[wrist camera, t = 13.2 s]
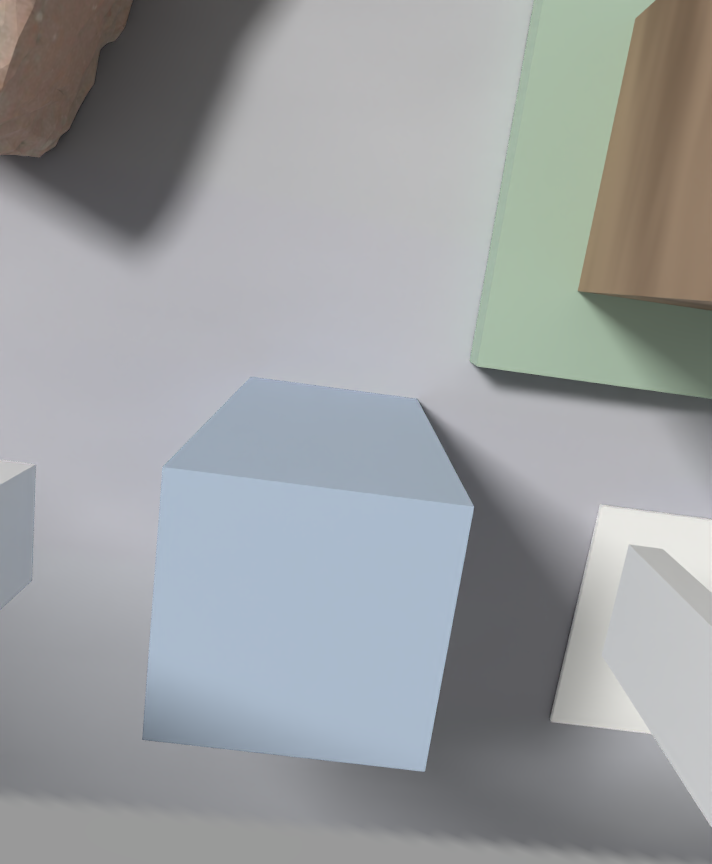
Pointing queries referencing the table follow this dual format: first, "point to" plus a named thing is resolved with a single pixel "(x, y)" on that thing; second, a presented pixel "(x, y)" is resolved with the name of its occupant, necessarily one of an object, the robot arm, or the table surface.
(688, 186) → the walnut block
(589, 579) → the page
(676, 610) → the robot arm
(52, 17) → the brick
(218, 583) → the bluegrey block
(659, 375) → the pad
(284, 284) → the table surface
